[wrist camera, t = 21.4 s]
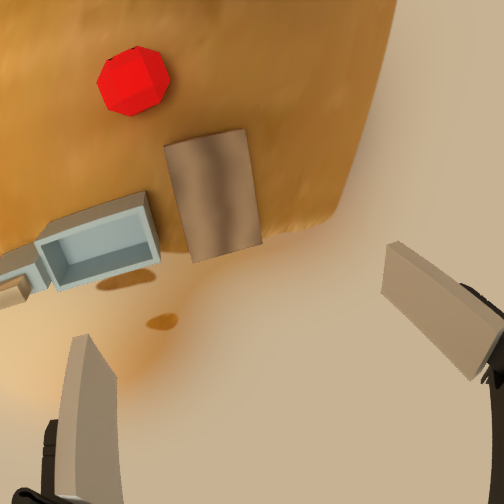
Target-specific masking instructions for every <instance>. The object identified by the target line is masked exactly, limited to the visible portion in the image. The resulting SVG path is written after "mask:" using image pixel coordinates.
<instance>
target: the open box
mask: <svg viewBox="0 0 504 504" xmlns="http://www.w3.org/2000/svg"><path fill="white" fill-rule="evenodd" d="M34 244H35V246H36V248H37V251H38V253H39V255H40V257H41V260H42V262H43V264H44V266H45V268H46V270H47V272H48V274H49V276H50V278H51V280H52V282H53V284H54V286H55V288H56V290H57V292H61V291H64V290H67V289H71V288H74V287H77V286H80V285H84V284H88V283H91V282H94V281H98V280H101V279H105V278H108V277H112V276H115V275H118V274H122V273H125V272H129V271H132V270H136V269H139V268H143V267H146V266H150V265H153V264H157V263H160V262H161V257H160V239H159V236H158V233H157V230H156V226H155V223H154V220H153V216H152V213H151V209H150V206H149V202H148V199H147V195H146V191H142V192H139V193H135V194H132V195H129V196H125V197H122V198H119V199H116V200H113V201H110V202H106V203H103V204H100V205H97V206H94V207H91V208H88V209H86V210H83V211H80V212H77V213H74V214H71V215H69V216H66V217H63V218H60V219H58V220H55V221H52V222H50V223H49V224H48V225H47V226H46V227H45V229H44V230H43V231H42V232H41V234H40V235H39V236H38V237H37V239H36V240H35V241H34Z"/></svg>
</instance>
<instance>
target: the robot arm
mask: <svg viewBox="0 0 504 504" xmlns="http://www.w3.org/2000/svg"><path fill="white" fill-rule="evenodd" d="M381 294H382V295H384V296H385V297H386V298H387V299H388V300H389V301H390V302H391V303H392V304H393V305H394V306H395V307H396V308H397V309H399V310H400V311H401V312H402V313H403V314H404V315H405V316H406V317H407V318H408V319H409V320H410V321H411V322H412V323H413V324H414V325H415V326H416V327H417V328H418V329H419V330H420V331H421V332H422V333H423V334H424V335H425V336H426V337H427V338H428V339H429V340H430V341H431V342H432V343H433V344H434V345H435V346H436V347H437V348H438V349H439V350H440V351H441V352H442V353H443V354H444V355H445V356H446V357H447V358H448V359H449V360H450V361H451V362H452V363H453V364H454V365H455V366H456V367H457V368H458V369H459V370H460V371H461V372H462V374H463V375H464V376H465V377H466V378H467V379H468V380H469V381H471V380H473V379H474V378H475V377H476V376H477V375H478V374H479V373H480V372H481V371H482V369H483V368H484V366H485V364H486V363H488V364H489V365H490V366H489V367H488V369H487V371H486V372H485V374H484V375H483V377H482V379H481V384H483V383H484V381H485V380H486V378H487V377H488V379H487V381H486V384H489V387H490V398H491V410H492V470H491V484H490V493H489V501H488V504H504V313H503V312H502V311H501V310H499V309H498V308H497V307H496V306H494V305H493V304H492V303H491V302H489V301H487V300H486V298H484V297H483V296H482V295H481V296H480V294H479V293H478V292H477V291H475V290H474V289H473V288H471V287H469V286H467V285H465V284H462V283H460V284H459V283H457V282H456V281H455V280H453V279H452V278H451V277H449V276H448V275H446V274H445V273H444V272H442V271H441V270H440V269H438V268H437V267H436V266H434V265H433V264H431V263H430V262H429V261H427V260H426V259H424V258H423V257H421V256H420V255H419V254H417V253H416V252H414V251H413V250H411V249H410V248H408V247H407V246H405V245H404V244H402V243H401V242H399V241H397V242H394V243H391V244H388V245H387V247H386V257H385V266H384V274H383V282H382V290H381ZM118 453H119V452H118V433H117V376H116V375H115V373H114V372H113V371H112V369H111V368H110V366H109V365H108V363H107V362H106V361H105V359H104V358H103V356H102V355H101V353H100V352H99V350H98V348H97V347H96V346H95V344H94V342H93V341H92V339H91V337H90V336H89V334H86V335H81V336H77V337H73V339H72V343H71V348H70V352H69V357H68V362H67V367H66V372H65V378H64V384H63V390H62V397H61V404H60V411H59V419H57V420H50V422H49V424H48V426H47V428H46V430H45V435H44V447H43V458H42V475H41V494H39V493H36V492H35V491H33V490H31V489H29V488H20V489H18V490H17V491H16V492H15V494H14V495H13V498H12V504H124V502H123V495H122V486H121V477H120V466H119V454H118Z"/></svg>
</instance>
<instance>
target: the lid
mask: <svg viewBox="0 0 504 504" xmlns="http://www.w3.org/2000/svg"><path fill="white" fill-rule="evenodd" d="M164 151H165V155H166V160H167V164H168V169H169V173H170V177H171V181H172V185H173V190H174V194H175V198H176V202H177V206H178V210H179V214H180V217H181V221H182V225H183V229H184V233H185V236H186V240H187V244H188V247H189V251H190V254H191V258H192V261H193V263H196V262H200V261H203V260H207V259H210V258H214V257H217V256H221V255H224V254H228V253H232V252H235V251H239V250H243V249H246V248H249V247H253V246H257V245H261V244H262V237H261V230H260V223H259V216H258V209H257V202H256V196H255V189H254V182H253V175H252V169H251V162H250V156H249V149H248V143H247V136H246V130H245V129H242V128H240V129H234V130H229V131H224V132H219V133H214V134H209V135H205V136H200V137H196V138H191V139H187V140H183V141H179V142H175V143H171V144H167V145H164Z"/></svg>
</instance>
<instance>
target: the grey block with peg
mask: <svg viewBox="0 0 504 504" xmlns="http://www.w3.org/2000/svg"><path fill="white" fill-rule="evenodd" d="M24 273H25V275H26V277H27V279H28V281H29V283H30V285H31V287H32V288H33V289H32V291H31V293H30V294H33V293H36V292H39V291H42V290H46V289H48V287H49V285H50V283H51V281H52V280H51V278H50V276H49V274H48V272H47V270H46V268H45V266H44V264H43V262H42V260H41V257H40V255H39V253H38V251H37V248H36V246H35V244H34V242H32V243H30V244H27V245H25V246H22V247H20V248H17V249H15V250H12V251H10V252H7V253H5V254H3V255H2V256H1V257H0V282H2V281H5V280H8V279H10V278H13V277H16V276H19V275H22V274H24Z"/></svg>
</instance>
